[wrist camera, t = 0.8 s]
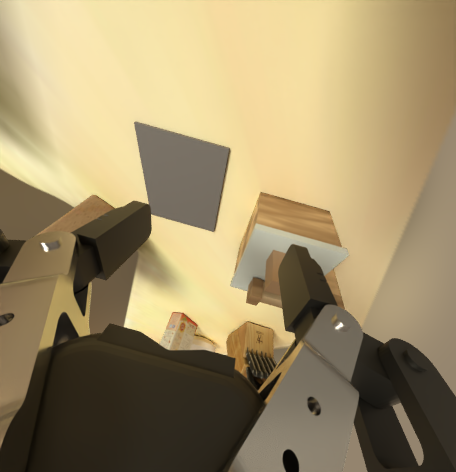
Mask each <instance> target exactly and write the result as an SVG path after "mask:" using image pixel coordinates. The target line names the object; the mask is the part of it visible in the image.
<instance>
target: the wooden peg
mask: <svg viewBox="0 0 456 472" xmlns="http://www.w3.org/2000/svg"><path fill="white" fill-rule="evenodd" d="M264 290H265V281H263V280H261V279H258V278H254V277H253V279H252V280H251V282H250V284H249V285H248V292H247V300H246V303H249V304H252V305H257V304H258V303H259V302H262V303H265V304H269V305H273V306H276V307H280V308H282V301H281V295H277V294H274V293H270V292H267V291H264Z"/></svg>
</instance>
